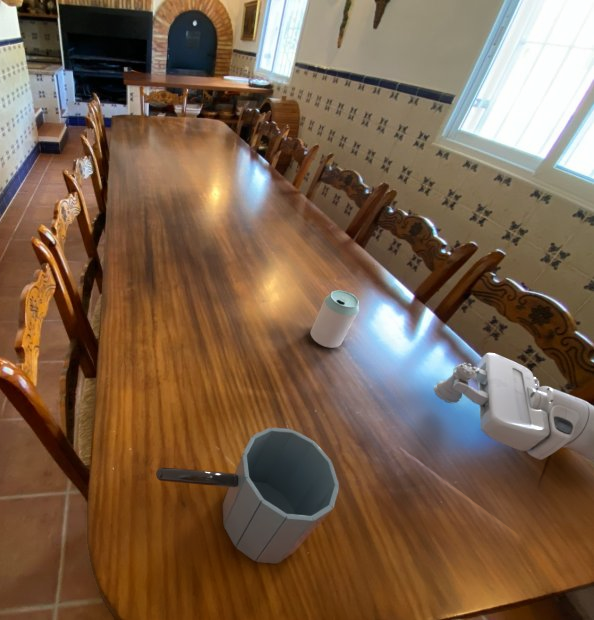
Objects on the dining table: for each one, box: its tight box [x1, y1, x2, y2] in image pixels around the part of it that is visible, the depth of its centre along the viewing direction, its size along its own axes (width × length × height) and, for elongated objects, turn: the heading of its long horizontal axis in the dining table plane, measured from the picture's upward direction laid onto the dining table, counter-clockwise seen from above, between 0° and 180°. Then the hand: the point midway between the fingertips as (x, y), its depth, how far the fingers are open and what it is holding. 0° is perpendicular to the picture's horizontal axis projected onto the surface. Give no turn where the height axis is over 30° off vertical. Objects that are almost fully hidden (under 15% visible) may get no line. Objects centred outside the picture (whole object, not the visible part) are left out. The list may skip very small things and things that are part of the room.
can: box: [310, 290, 360, 349], centre depth 79 cm, size 7×7×12 cm
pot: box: [155, 427, 340, 565], centre depth 47 cm, size 21×11×15 cm, turn 87°
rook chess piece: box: [433, 362, 478, 404], centre depth 68 cm, size 4×4×8 cm
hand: (454, 376), depth 67 cm, fingers closed on rook chess piece, 3 cm apart
